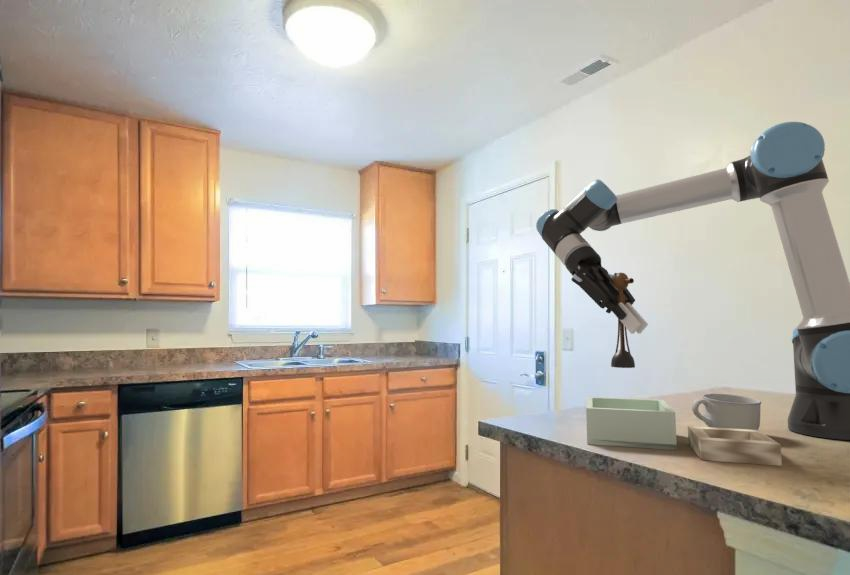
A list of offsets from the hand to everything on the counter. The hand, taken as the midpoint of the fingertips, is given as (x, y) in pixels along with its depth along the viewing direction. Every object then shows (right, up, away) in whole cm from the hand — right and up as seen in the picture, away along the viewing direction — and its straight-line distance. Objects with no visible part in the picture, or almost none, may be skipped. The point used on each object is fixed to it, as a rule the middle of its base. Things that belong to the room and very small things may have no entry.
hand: (639, 328), depth 102 cm
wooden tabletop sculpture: (-2, -8, +3) cm, 9 cm away
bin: (-2, -23, +2) cm, 23 cm away
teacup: (+21, -23, +5) cm, 31 cm away
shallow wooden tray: (+12, -22, -11) cm, 27 cm away
